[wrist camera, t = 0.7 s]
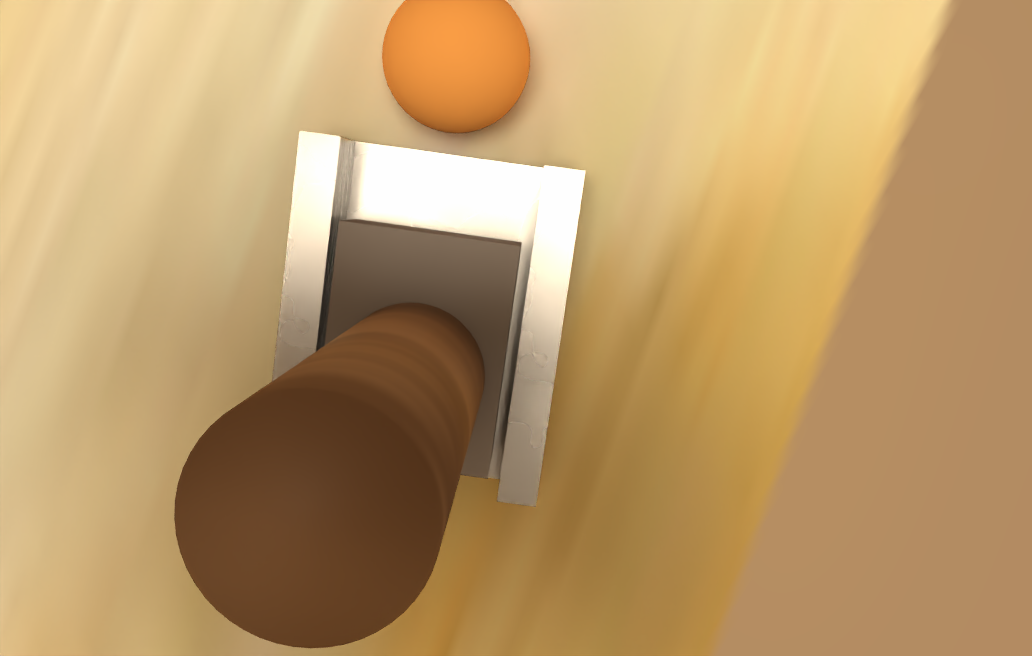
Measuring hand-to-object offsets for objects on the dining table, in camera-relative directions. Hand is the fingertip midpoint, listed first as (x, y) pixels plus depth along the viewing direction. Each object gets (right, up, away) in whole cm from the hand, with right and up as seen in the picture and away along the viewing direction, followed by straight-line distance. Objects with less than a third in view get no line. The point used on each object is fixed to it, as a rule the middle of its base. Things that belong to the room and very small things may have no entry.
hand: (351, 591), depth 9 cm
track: (-1, +3, +18) cm, 18 cm away
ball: (0, +9, +15) cm, 18 cm away
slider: (-1, +2, +18) cm, 18 cm away
